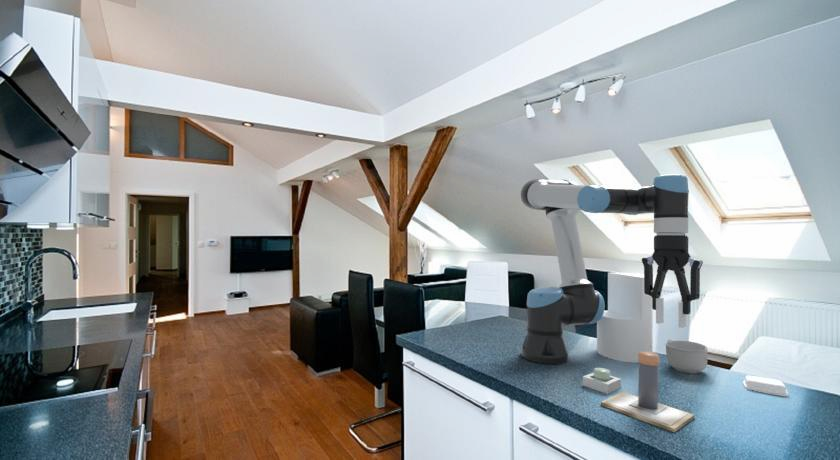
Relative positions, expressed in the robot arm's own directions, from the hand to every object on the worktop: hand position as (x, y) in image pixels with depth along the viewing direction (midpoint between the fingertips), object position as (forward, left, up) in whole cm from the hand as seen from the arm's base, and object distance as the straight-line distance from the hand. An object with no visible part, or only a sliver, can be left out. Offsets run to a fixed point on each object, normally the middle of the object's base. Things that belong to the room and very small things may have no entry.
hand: (670, 324), depth 99 cm
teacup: (-7, +28, -19) cm, 34 cm away
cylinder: (-25, +27, -19) cm, 41 cm away
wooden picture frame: (0, -14, -19) cm, 23 cm away
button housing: (-14, -8, -19) cm, 25 cm away
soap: (+13, +28, -19) cm, 36 cm away
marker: (0, -13, -18) cm, 22 cm away
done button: (-14, -8, -17) cm, 24 cm away
